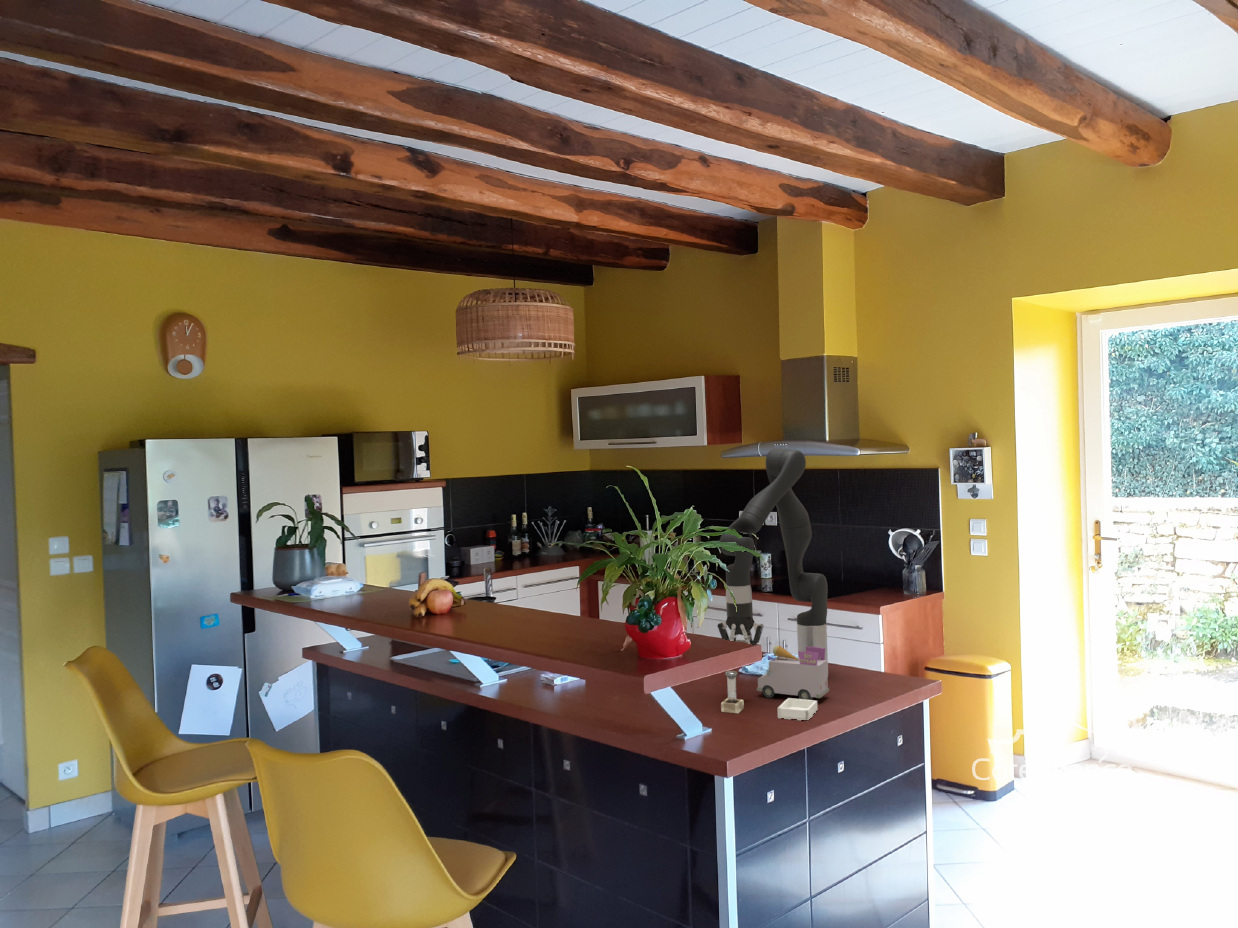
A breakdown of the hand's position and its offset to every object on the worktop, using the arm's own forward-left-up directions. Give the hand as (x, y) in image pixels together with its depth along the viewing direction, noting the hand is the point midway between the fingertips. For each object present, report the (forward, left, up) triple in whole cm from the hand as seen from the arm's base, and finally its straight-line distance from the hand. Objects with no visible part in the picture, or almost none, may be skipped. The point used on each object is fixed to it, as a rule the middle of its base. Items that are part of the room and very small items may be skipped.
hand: (741, 657), depth 272 cm
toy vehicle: (-8, +13, -13) cm, 20 cm away
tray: (+8, +18, -13) cm, 24 cm away
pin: (+10, 0, -13) cm, 16 cm away
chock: (0, 0, 0) cm, 0 cm away
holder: (+10, 0, -13) cm, 16 cm away
